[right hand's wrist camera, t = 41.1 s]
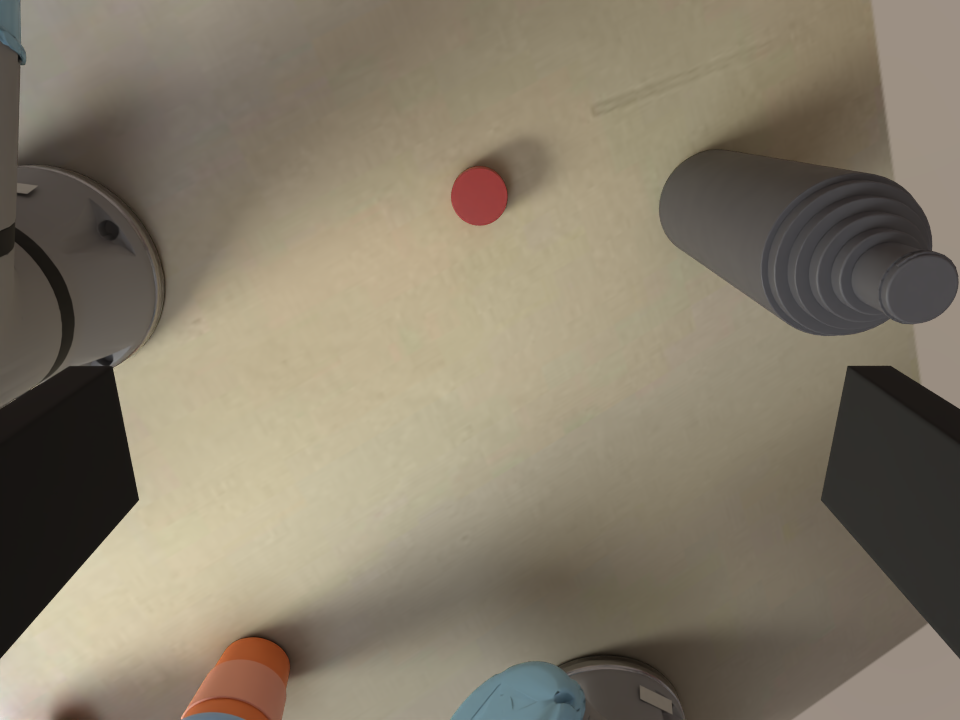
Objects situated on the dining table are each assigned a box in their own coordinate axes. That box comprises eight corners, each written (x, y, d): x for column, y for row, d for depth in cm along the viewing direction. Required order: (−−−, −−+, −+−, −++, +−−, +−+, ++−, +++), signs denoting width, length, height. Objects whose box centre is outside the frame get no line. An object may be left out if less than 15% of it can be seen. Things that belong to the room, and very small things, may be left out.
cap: (478, 153, 47) (478, 155, 45) (518, 193, 48) (519, 196, 46) (440, 195, 48) (439, 198, 46) (480, 233, 49) (480, 237, 47)
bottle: (784, 208, 48) (1062, 297, 25) (699, 276, 50) (885, 418, 27) (724, 126, 46) (965, 141, 23) (637, 200, 48) (782, 282, 25)
